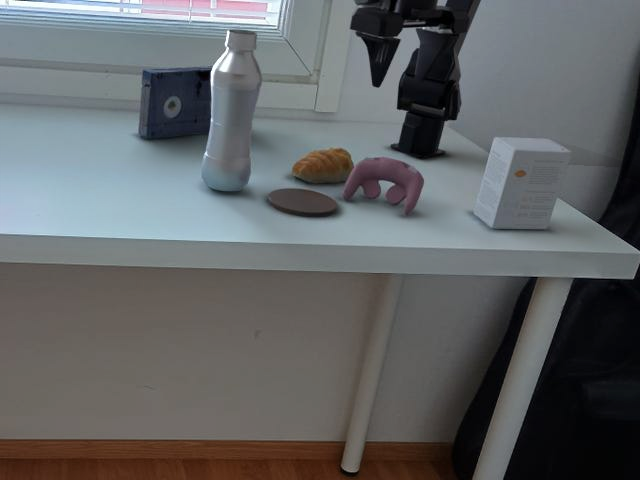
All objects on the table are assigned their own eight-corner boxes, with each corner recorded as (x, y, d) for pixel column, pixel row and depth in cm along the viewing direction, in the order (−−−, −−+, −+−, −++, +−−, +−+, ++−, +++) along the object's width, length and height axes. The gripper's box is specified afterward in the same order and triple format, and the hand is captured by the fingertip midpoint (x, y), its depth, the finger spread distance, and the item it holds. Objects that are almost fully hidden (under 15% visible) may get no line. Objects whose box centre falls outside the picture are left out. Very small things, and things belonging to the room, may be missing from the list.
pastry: (313, 189, 117) (318, 162, 115) (278, 175, 122) (282, 148, 120) (357, 179, 123) (362, 153, 121) (322, 166, 127) (326, 140, 125)
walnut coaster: (302, 188, 117) (303, 184, 117) (350, 210, 111) (351, 206, 111) (253, 197, 112) (254, 193, 112) (301, 221, 106) (302, 216, 106)
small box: (526, 214, 115) (550, 138, 110) (547, 230, 111) (574, 151, 105) (471, 213, 114) (493, 135, 109) (490, 229, 109) (515, 148, 104)
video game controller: (414, 220, 114) (431, 170, 113) (411, 215, 110) (428, 162, 109) (344, 203, 118) (359, 154, 117) (338, 197, 114) (354, 146, 113)
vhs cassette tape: (229, 125, 142) (237, 63, 137) (240, 130, 140) (248, 68, 135) (135, 134, 133) (140, 68, 128) (145, 139, 131) (150, 73, 126)
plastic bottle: (234, 200, 111) (256, 39, 100) (189, 188, 113) (206, 30, 103) (256, 188, 115) (278, 33, 105) (212, 176, 118) (230, 25, 108)
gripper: (420, -43, 124) (396, 68, 132) (331, -44, 114) (311, 76, 122) (485, -32, 116) (455, 85, 124) (395, -32, 106) (369, 95, 114)
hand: (397, 84), depth 121 cm, fingers open, 9 cm apart
